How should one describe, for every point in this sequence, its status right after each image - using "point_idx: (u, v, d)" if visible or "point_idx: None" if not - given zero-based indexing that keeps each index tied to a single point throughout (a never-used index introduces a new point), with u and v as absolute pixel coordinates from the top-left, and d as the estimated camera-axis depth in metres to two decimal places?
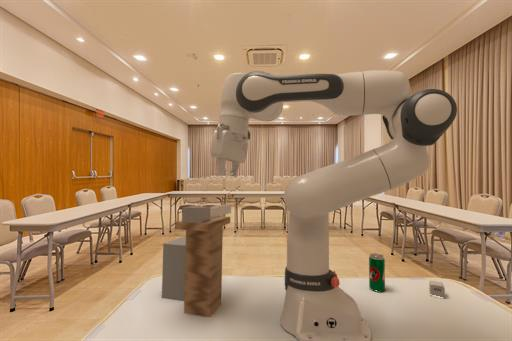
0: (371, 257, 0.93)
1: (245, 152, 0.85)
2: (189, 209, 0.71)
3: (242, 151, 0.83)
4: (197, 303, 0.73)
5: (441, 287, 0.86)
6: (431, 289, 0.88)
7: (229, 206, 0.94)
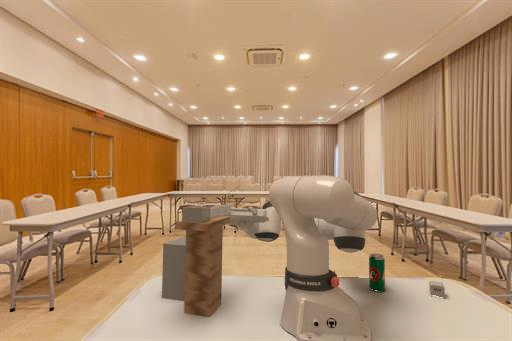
0: (371, 257, 0.93)
1: None
2: (189, 209, 0.71)
3: None
4: (197, 303, 0.73)
5: (441, 287, 0.86)
6: (431, 289, 0.88)
7: (229, 206, 0.94)
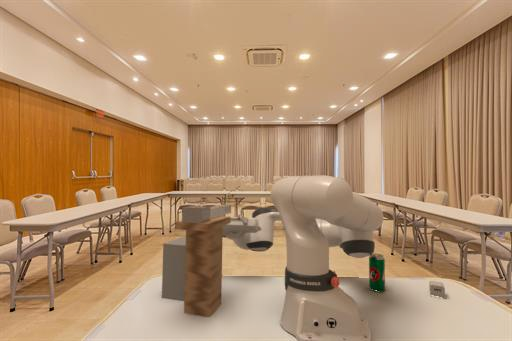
0: (371, 257, 0.93)
1: None
2: (189, 209, 0.71)
3: None
4: (197, 303, 0.73)
5: (441, 287, 0.86)
6: (431, 289, 0.87)
7: (229, 206, 0.94)
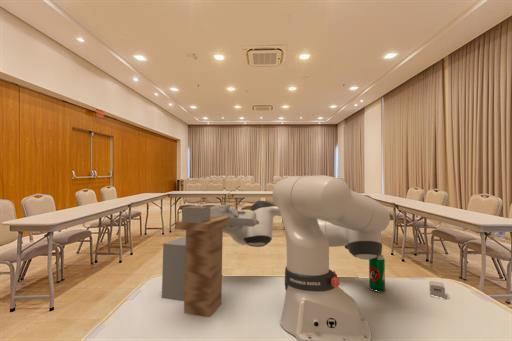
0: None
1: None
2: (189, 209, 0.71)
3: None
4: (197, 303, 0.73)
5: (441, 287, 0.86)
6: (431, 289, 0.87)
7: (229, 206, 0.94)
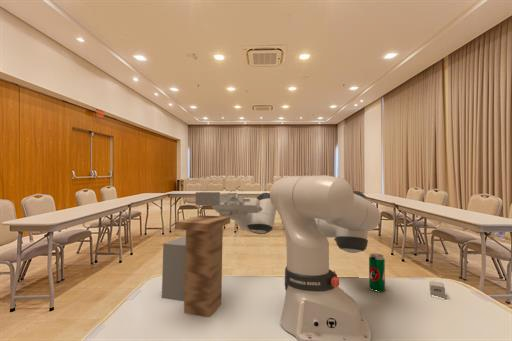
0: (371, 257, 0.93)
1: (216, 208, 1.11)
2: (201, 194, 0.82)
3: (221, 208, 1.11)
4: (197, 303, 0.73)
5: (441, 288, 0.86)
6: (431, 290, 0.87)
7: (235, 194, 1.05)
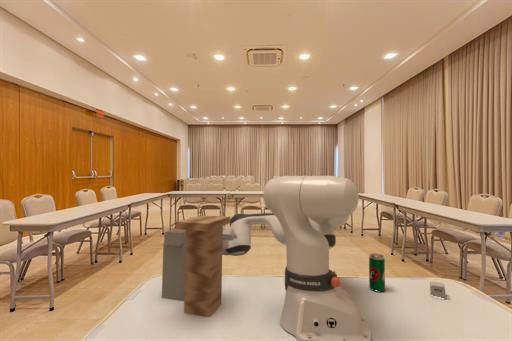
0: (371, 257, 0.93)
1: None
2: (170, 233, 0.84)
3: None
4: (197, 303, 0.73)
5: (442, 288, 0.86)
6: (431, 290, 0.87)
7: None
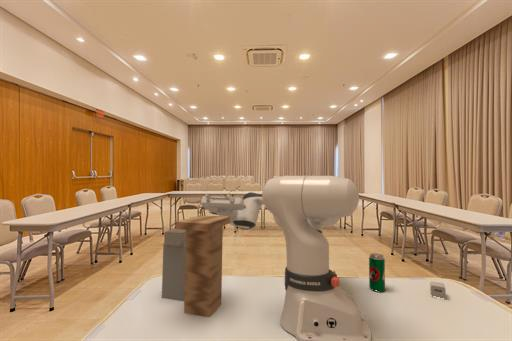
0: (371, 257, 0.93)
1: (205, 206, 1.24)
2: (170, 233, 0.84)
3: (210, 206, 1.24)
4: (197, 303, 0.73)
5: (442, 288, 0.85)
6: (432, 290, 0.87)
7: None
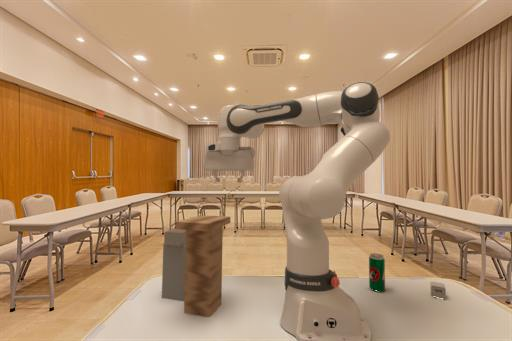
0: (371, 257, 0.93)
1: None
2: (170, 233, 0.84)
3: None
4: (197, 303, 0.73)
5: (442, 288, 0.85)
6: (432, 290, 0.87)
7: None
